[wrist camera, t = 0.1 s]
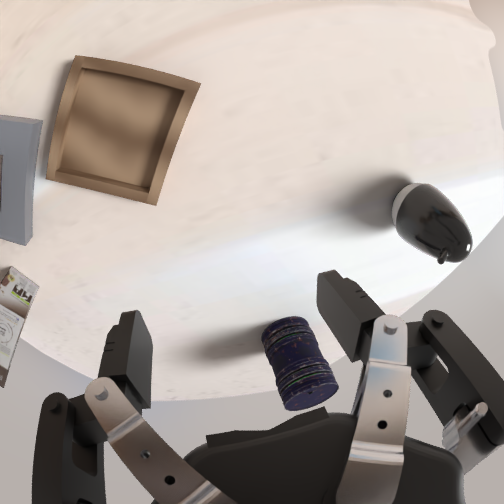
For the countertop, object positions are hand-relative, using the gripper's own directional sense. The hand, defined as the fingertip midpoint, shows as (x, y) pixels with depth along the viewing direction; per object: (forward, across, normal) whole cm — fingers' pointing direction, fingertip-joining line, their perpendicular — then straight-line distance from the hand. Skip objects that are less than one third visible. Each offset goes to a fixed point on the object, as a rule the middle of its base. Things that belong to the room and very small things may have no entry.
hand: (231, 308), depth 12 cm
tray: (+21, +8, -9) cm, 25 cm away
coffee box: (+24, +34, +9) cm, 43 cm away
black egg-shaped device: (+24, -32, +7) cm, 40 cm away
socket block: (+21, +28, -10) cm, 37 cm away
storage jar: (+27, -10, +31) cm, 43 cm away
